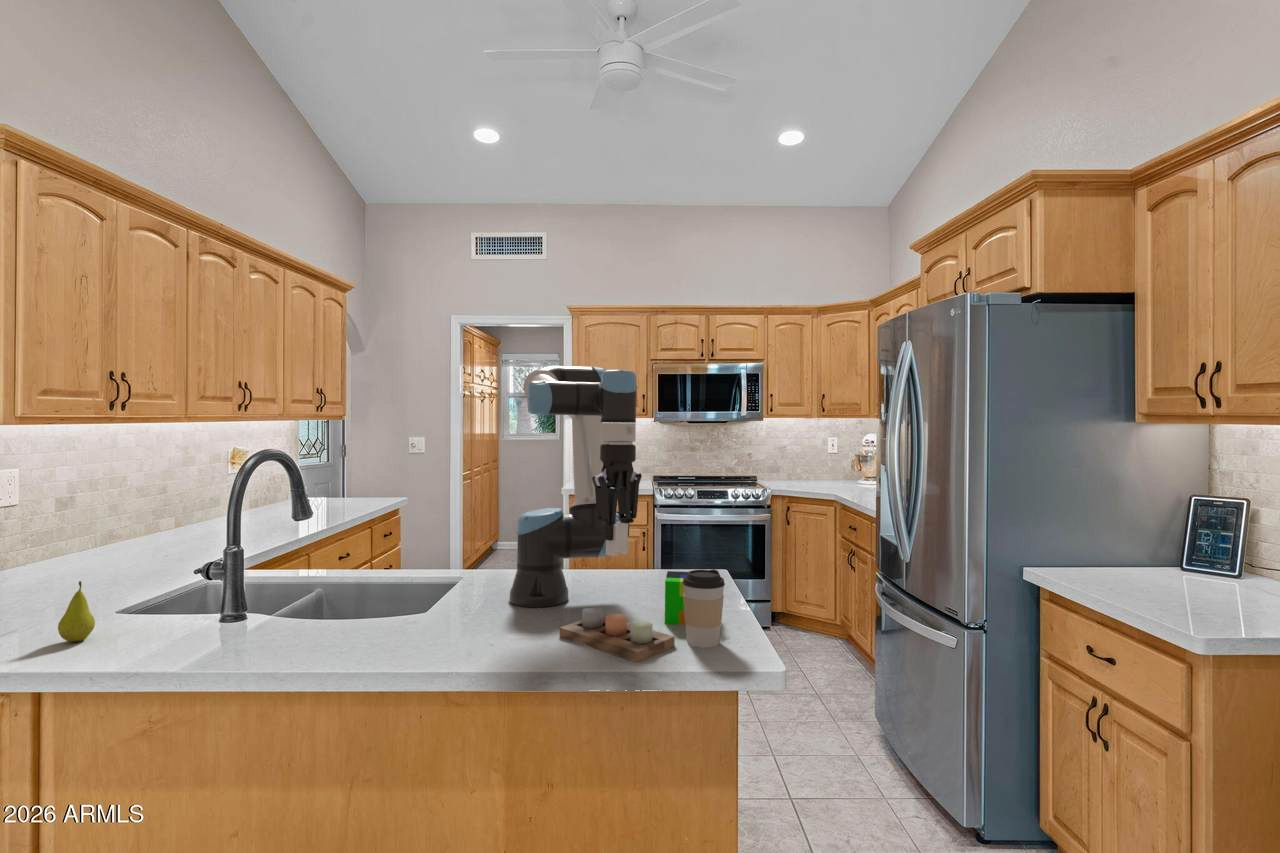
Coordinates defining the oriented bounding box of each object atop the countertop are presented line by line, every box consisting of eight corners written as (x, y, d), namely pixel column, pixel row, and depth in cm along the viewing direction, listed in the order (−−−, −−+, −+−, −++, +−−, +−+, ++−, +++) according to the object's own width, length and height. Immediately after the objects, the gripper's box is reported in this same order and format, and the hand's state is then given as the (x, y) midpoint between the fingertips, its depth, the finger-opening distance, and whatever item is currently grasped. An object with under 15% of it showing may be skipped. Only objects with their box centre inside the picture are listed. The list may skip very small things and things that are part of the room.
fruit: (64, 648, 126) (65, 588, 125) (52, 643, 128) (52, 584, 128) (100, 639, 131) (100, 582, 130) (88, 634, 133) (88, 578, 133)
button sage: (625, 641, 128) (626, 624, 128) (640, 635, 132) (640, 619, 132) (642, 646, 125) (643, 629, 125) (656, 640, 129) (656, 624, 129)
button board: (559, 636, 136) (559, 627, 136) (597, 623, 145) (598, 614, 145) (637, 662, 121) (637, 652, 121) (674, 646, 131) (674, 636, 131)
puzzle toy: (707, 613, 154) (708, 572, 154) (708, 626, 144) (708, 582, 144) (667, 611, 155) (667, 571, 155) (664, 624, 145) (665, 581, 145)
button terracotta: (601, 633, 133) (601, 617, 133) (615, 628, 136) (615, 612, 136) (616, 638, 130) (617, 622, 130) (630, 632, 133) (631, 617, 133)
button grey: (577, 626, 137) (577, 610, 137) (592, 621, 141) (592, 606, 141) (592, 630, 134) (592, 615, 134) (606, 625, 138) (606, 610, 138)
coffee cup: (696, 652, 127) (697, 578, 127) (673, 638, 135) (674, 569, 135) (732, 645, 131) (733, 573, 131) (708, 632, 139) (709, 565, 139)
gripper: (605, 444, 124) (604, 562, 125) (654, 443, 136) (653, 551, 137) (579, 443, 129) (577, 557, 129) (628, 442, 141) (627, 546, 141)
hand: (616, 554), depth 133 cm, fingers open, 3 cm apart
